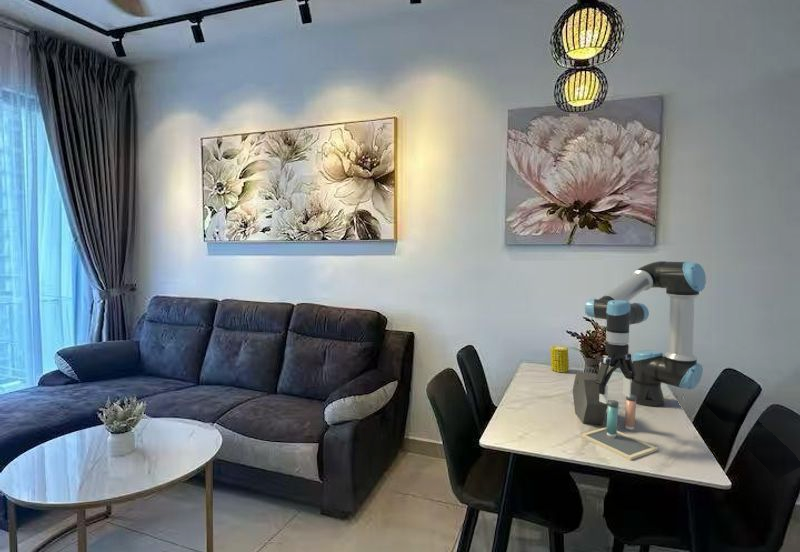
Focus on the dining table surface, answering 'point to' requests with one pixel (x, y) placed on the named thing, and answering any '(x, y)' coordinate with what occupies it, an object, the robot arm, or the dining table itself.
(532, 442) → the dining table surface
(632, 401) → the coral marker
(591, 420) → the planter
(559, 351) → the food
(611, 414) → the teal marker
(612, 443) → the slate board
